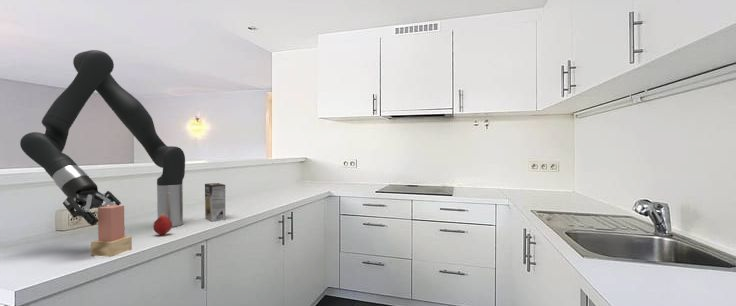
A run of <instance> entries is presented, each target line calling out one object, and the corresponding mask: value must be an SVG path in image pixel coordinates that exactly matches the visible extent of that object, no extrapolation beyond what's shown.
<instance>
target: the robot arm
mask: <svg viewBox="0 0 736 306" xmlns="http://www.w3.org/2000/svg"><path fill="white" fill-rule="evenodd" d="M72 64H73V67H74V69H75V71H76V72H77V74H76V76H75V77H74V79H72V82H71V83H70V84H69V85H68V86H67V87H66V89H64V91H62V93H61V94H59V95H58V96H57V98H56V99H55V100H54V101H53V102H52V104H51V105H50V107H49V108H48V109H47V111H46V113H45V114H44V116H43V117H42V120H41V124H42V126H43V127H44V128H45V132H44V133H42V132H37V131H35V132H34V131H33V132H29V133H27V134H24V135H23V136H22V137H21V139H20V141H19V145H20V148H21V150H22V152H24V154H25V155H26V156H27V157H28V158H30V159H31V160H32V161H33V162H35V163H36V164H37V165H39V166H40V167H42V169H44V170H45V172H46V173H47V175H49V176H50V178H51V179H52V180H53V181H54V183H55V185H56V187H57V188H59V189H60V191H61V192H62V193H63V194H64V195H65V197H67V198H65V199H64V201H63V202H62V204H63V206H64V208H66V210H67V211H68V213H69V214H70V215H71V216H72V217H73V218H76V217H80V218H83V219H84V220H85V221H86V222H87V223H88V224H89V225H91V226H95V225H97V224H98V217H96V216H95V214H94V213H93V212H92V211H90V210H92V209H98V208H100V207H106V206H111V205H116V206H121V204H122V202H121V201H120V200H119V199H118V198H117V197H116V196H115V195H114V193H112V192H111V191H110V190H107V191H106V192H105V193H102V192H100V191H98V190H99V188H98V185H97V184H96V183H95V181H94V180H92V178H91V177H90V176H89V175H88V173H87V172H85V171H84V169H82V168H81V167H79V165H78V164H77V162H76V161H74V160H73V158H71V157H70V156H69V155H67V154H66V153H64V152H63V151H64V150H65V147H66V143H67V141H68V136H69V131H70V129H71V127H72V126H73V125H74V122H75V121H76V120H77V117H78V116H79V114H80V113H81V112H82V110H83V108H84V107H85V105H86V103H87V102H88V101H89V99H90V98H91V96H92V95H93V93H94V92H95V91H96V92H97V93H98V94H99V95H100V97H101V98H102V99H103V100H104V102H105V103H106V104H107V105H108V107H109V108H110V109H111V110H112V111H113V113H114V114H115V116H117V118H118V119H119V120H120V121H121V123H122V124H123V125H124V126H125V128H126V129H128V131H129V132H130V133H131V134H132V135H133V136H134V137H135V139H136V140H137V142H139V144H141V146H142V147H143V148H144V150H145V152H146V153H147V155H148V156H149V158H150V159H151V160H152V162H153V163H154V164H155V165H156V166H157V167H159V168H162V173H161V176H159V177H158V178H156V198H157V203H156V207H157V210H156V211H157V212H156V213H157V215H156V217H157V219H158V218H159V217H160V216H161V215H162V214H165V217H167V218H169V219H170V221H171V223H172V228H173V227H179V226H182V225H183V224H184V199H183V198H184V196H183V195H184V192H183V190H184V187H183V183H184V182H183V180H184V178H185V174H186V173H185V172H186V156H185V152H184V150H183V149H182V148H180V147H178V146H174V145H173V146H171V145H170V146H167V144H166V143H165V142H164V141H163V140H162V139H161V137H160V136H159V135H158V134H157V131H156V127H155V124H154V120H153V118H152V116H151V114H150V112H149V111H148V110H147V109H146V108H145V106H144V105H143V104H142V102H141V101H139V100H138V99H137V98H136V97H135V96H134V95H133V94H132V93H130V92H128V90H126V89H125V88H124V87H122V86H121V85H120V84H119V82H117V80H115V77H113V75H112V74H111V73H112V72H113V71H114V68H115V67H114V66H115V64H114V60H113V58H112V57H111V56H110V55H109V54H108V53H106V52H104V51H102V50H99V49H98V50H97V49H91V50H87V51H81V52H78V53H77V54H76V55H74V58H73V61H72ZM104 202H105V203H104ZM103 203H104V204H103ZM157 219H156V220H157Z"/></svg>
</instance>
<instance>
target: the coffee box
mask: <svg viewBox="0 0 736 306" xmlns="http://www.w3.org/2000/svg"><path fill="white" fill-rule="evenodd" d="M204 209H205V210H204V211H205V213H204V214H205V219H206V220H208V221H210V222H217V221H224V220H226V184H223V183H220V182H217V183H216V182H213V183H204Z"/></svg>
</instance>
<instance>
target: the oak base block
mask: <svg viewBox="0 0 736 306" xmlns="http://www.w3.org/2000/svg"><path fill="white" fill-rule="evenodd" d="M132 242H133V241H132V236H131V235H130V236H128V235H127V236H126V235H125V237H124V238H121V239H118V240H114V241H98V239H97V240H92V241H90V255H91V256H94V255H97V256H107V257H113V256H117V255H116V254H118V255H120V254H119V253H122V252H125V251H127V250H130V251H131V250H132V248H133V246H132Z"/></svg>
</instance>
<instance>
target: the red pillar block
mask: <svg viewBox="0 0 736 306" xmlns="http://www.w3.org/2000/svg"><path fill="white" fill-rule="evenodd" d="M97 219H98V222H97V229H98V230H97V233H98V234H97V237H98V239H97V240H98V241H114V240H118V239H121V238H124V237H125V236H126V234H125V205H119V206H116V205H111V206H110V205H107V206H106V207H100V208H97Z"/></svg>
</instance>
